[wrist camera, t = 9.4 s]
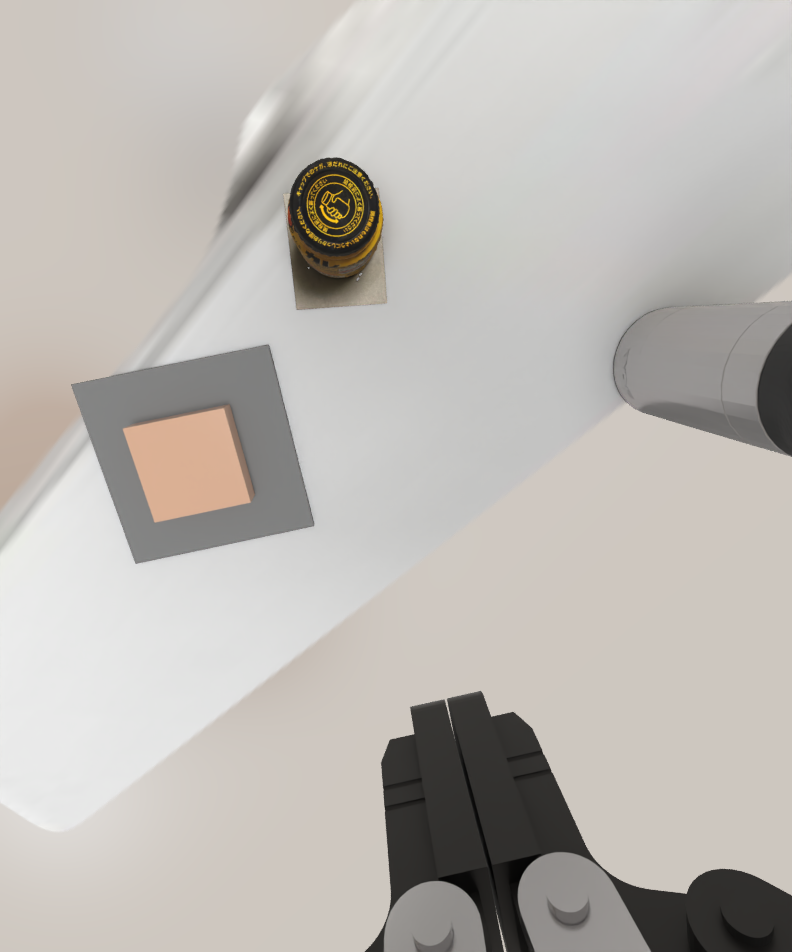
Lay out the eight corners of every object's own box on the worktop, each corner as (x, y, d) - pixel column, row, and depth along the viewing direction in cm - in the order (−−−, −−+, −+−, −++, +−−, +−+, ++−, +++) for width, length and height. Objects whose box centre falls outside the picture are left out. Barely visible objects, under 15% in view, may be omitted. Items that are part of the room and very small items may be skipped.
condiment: (378, 188, 42) (389, 136, 30) (386, 303, 44) (400, 295, 33) (283, 194, 41) (258, 143, 30) (296, 309, 44) (278, 304, 32)
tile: (223, 407, 43) (122, 428, 42) (250, 502, 45) (154, 522, 45) (229, 403, 45) (134, 423, 45) (255, 494, 47) (163, 513, 47)
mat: (268, 344, 44) (268, 344, 44) (314, 524, 49) (313, 526, 48) (73, 384, 44) (71, 384, 43) (137, 561, 48) (135, 563, 48)
